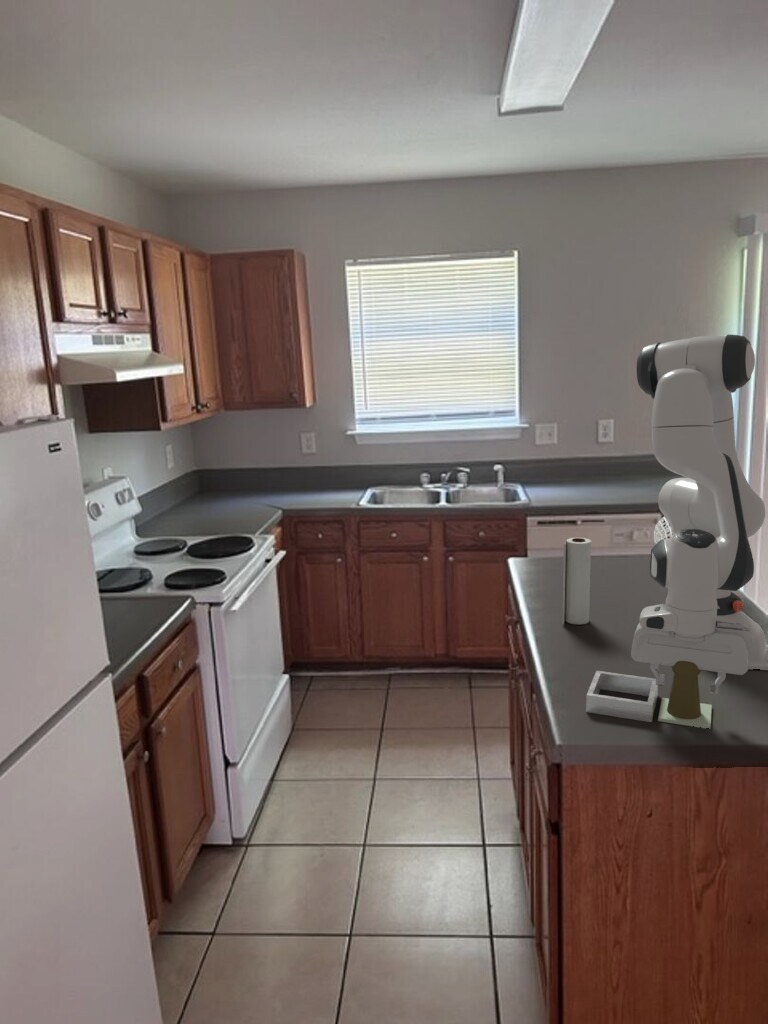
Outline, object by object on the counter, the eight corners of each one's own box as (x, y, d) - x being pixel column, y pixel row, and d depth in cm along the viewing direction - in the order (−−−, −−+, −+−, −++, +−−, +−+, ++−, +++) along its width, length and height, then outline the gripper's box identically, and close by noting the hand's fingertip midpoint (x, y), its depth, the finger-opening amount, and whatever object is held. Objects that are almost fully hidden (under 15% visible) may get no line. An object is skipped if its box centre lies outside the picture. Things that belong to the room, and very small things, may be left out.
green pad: (711, 707, 147) (711, 704, 147) (710, 729, 139) (710, 726, 139) (662, 700, 151) (662, 697, 151) (658, 720, 143) (658, 717, 143)
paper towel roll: (586, 616, 198) (588, 536, 193) (591, 625, 192) (593, 542, 187) (558, 617, 198) (559, 537, 193) (562, 625, 192) (564, 543, 188)
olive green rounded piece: (692, 703, 148) (695, 650, 146) (706, 718, 142) (710, 663, 140) (661, 705, 148) (664, 651, 145) (674, 720, 142) (677, 664, 139)
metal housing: (657, 695, 153) (658, 679, 152) (651, 722, 142) (652, 705, 142) (595, 686, 158) (596, 670, 157) (586, 711, 147) (586, 695, 147)
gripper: (752, 619, 140) (747, 689, 143) (635, 607, 148) (632, 673, 151) (753, 631, 134) (748, 704, 137) (631, 617, 142) (628, 687, 145)
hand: (686, 688), depth 144 cm, fingers open, 8 cm apart
